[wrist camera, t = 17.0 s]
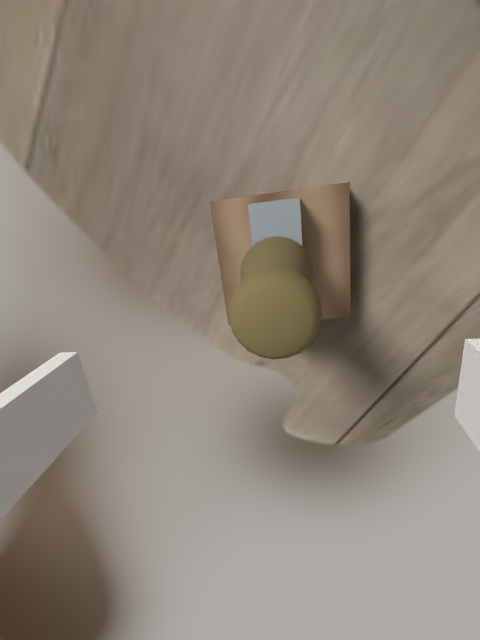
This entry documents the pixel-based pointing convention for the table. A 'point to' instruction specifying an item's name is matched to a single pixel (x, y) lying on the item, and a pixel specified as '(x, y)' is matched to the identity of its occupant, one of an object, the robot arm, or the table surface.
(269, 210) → the slate-grey block
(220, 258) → the wooden flat board
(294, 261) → the olive ball-ended rod
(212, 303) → the table surface
